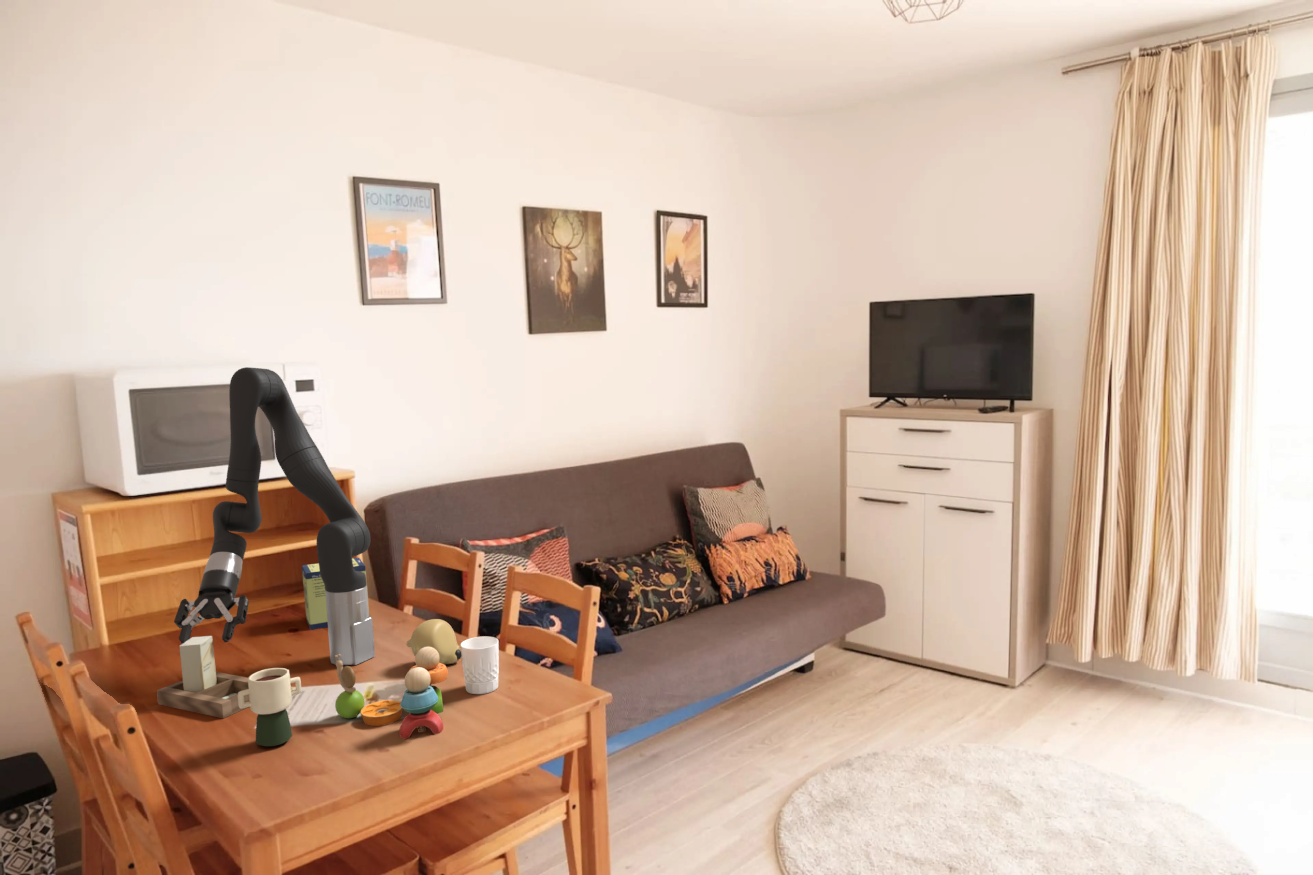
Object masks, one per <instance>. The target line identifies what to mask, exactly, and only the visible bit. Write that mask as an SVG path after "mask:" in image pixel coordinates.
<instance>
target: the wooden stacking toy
mask: <svg viewBox="0 0 1313 875" xmlns="http://www.w3.org/2000/svg"><path fill="white" fill-rule="evenodd" d="M414 657H415V656H414ZM414 659H415V660H414V662H415V664H416V665H414V666H412V667H411V668H409V669H408V671H407V673H406V675H405V676H404V686H405V688H406V690H405V691H404V692H403V695H402V698H401V701H399V700H393V699H384V700H380V701H379V700H377V701H374V702H372V703H368V704H367V705H364V707H363V708H362V709H361V711H360V716H361V717H362V721H363V722H364V724H365V725H367V726H372V727H378V726H379V727H380V726H385V725H390V724H393V723H395V722H396V721H399V719H401V717H402V713H403V711H406V712H407V713H408V714H407V715H406V716H405V717H403V720H402V722H401V724H400V727H399V737H400V738H401V739H404V740H405V739H409V738H410V736H411V735H412V733H413V731H414V730H415V729H417V732H418V733H423V732H425V731H426V730H427V729H430V731H431V732H432V734H435V735H439V734H440V733H442V731H443V730H444V723H443V721H442V719H441V716H440V715H439V714H440V713H442V712H444V705H443V696H442V690H441V688H439V687H438V686H437V685H435V684H439V683H442V682H445V681H447V680H448V679H449V670H448V668H447V666H446V664H441V663H439V653H438V652H437V650H436V649H434V648H432V647H424V648H422V649H420V650H419V651H418V652H417V654H416V657H415V658H414Z"/></svg>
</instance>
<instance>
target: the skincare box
mask: <svg viewBox="0 0 1313 875" xmlns="http://www.w3.org/2000/svg"><path fill="white" fill-rule="evenodd" d="M179 655H180V665H181V674H182V676H181V678H182V680H183V687H184V691H189V692H194V693H197V692H200V691H202V690H204V689H207V688H209V687H212V686H214V685H217V679H216V672H217V671H216V670H217V669H216V661H215V650H214V640H213V635H205V636H192V637H190V639H189V640H187V641H186V642H184V643H183V644H182V643H181V644H180V645H179Z"/></svg>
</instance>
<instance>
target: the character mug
mask: <svg viewBox="0 0 1313 875" xmlns="http://www.w3.org/2000/svg"><path fill="white" fill-rule="evenodd" d="M247 678H248V686H249V689H247V690H243V691H240V692H238V705H239V708H240V709H243V708H245V709H247V707H248V708H250V710H251V712H253V713H254V714H255V715H257V716H256V724H255V744H256V745H258V746H263V747H276V746H279V745H282V744H285V743H286V742H287V741H290V739H291V738H292V737H293V731H292V727H291V726H292V725H291V722H290V718H289V714H288V711H287V708H289V707H290V706H291V705H292V700H293V699H292V696H295V695H299V694H301V693H302V682H301V677H300V676H296V677H291V675H290V669H287V668H284V667H272V668H265V669H262V670H259V671H255V672H254V673H251V674H250V675H249V676H248V677H247ZM294 683H295V684H294ZM291 684H294V685H295V689H294V690H292V686H291ZM248 694H249V699H250V702H246V703H244V695H248ZM243 710H244V709H243Z"/></svg>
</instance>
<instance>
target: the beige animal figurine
mask: <svg viewBox="0 0 1313 875" xmlns="http://www.w3.org/2000/svg"><path fill="white" fill-rule="evenodd" d="M406 646H407V647H408V648H410V649H411V651H412V653H413V655H414V657H416V654H417V652H418V651H419V650H420V649H422V648H424V647H432V648H434V649H436V650H437V652H438V653H439V663H441V664H444V665H451V664H455V663H457V662H458V661H459V660H460V659H462V655H461V646H460V645H459V644H458V642H457V637H456V634H455V631H454V628H452V626H451V625H450V624H449V623H448V622H447V621H445V620H443V619H440V618H432V619H427V620H425V621H423V622H422V623H420V624H418V626H416V628H415V629H414V630H413V632H412V634H411V636H410V639H409V640H408V641H406Z"/></svg>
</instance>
